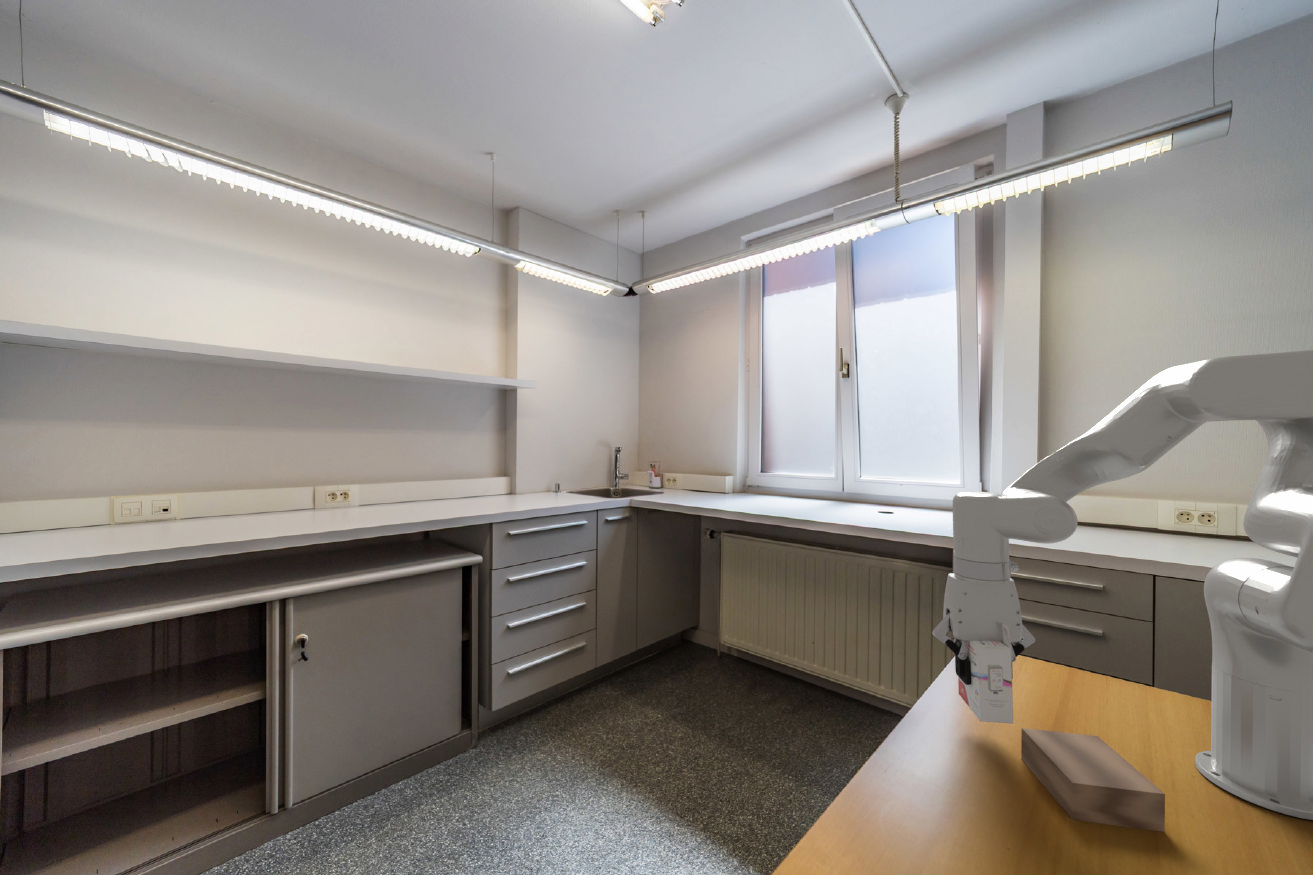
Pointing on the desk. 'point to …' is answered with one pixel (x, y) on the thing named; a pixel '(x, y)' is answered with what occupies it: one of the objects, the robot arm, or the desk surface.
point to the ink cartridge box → (990, 680)
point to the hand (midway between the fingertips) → (983, 680)
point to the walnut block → (1092, 780)
